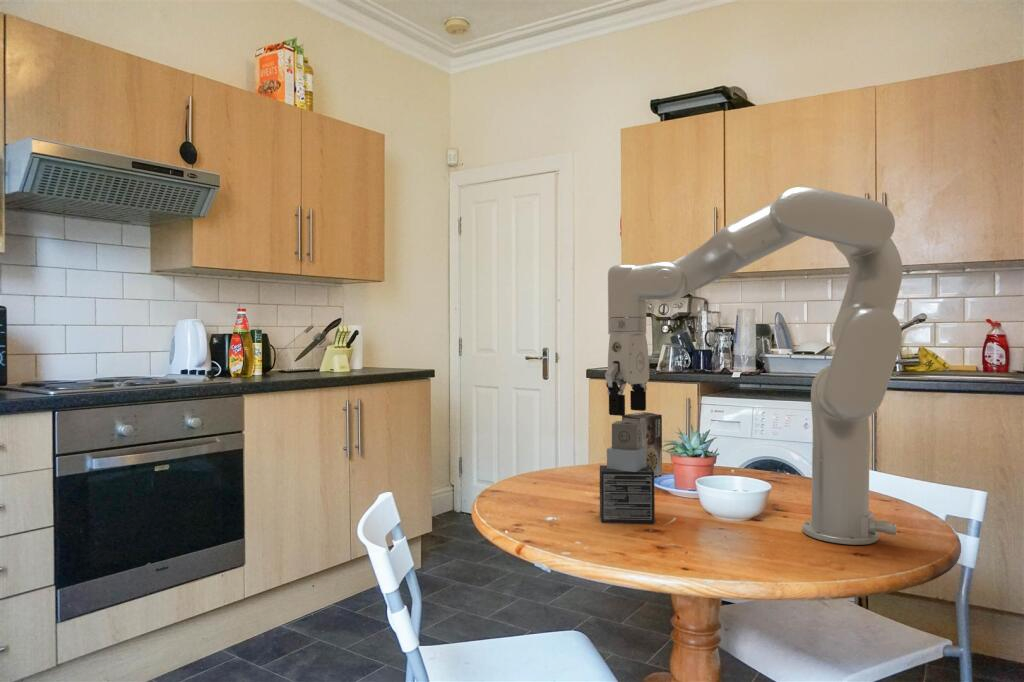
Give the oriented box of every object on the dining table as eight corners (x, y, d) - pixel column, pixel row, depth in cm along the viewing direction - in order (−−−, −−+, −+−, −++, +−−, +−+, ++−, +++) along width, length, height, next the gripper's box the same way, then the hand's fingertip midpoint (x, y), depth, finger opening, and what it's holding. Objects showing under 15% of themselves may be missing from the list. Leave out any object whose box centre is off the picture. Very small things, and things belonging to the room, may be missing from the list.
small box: (651, 515, 138) (651, 464, 138) (655, 525, 132) (655, 471, 131) (599, 514, 139) (599, 463, 139) (600, 523, 132) (601, 470, 132)
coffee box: (643, 472, 181) (643, 411, 181) (662, 476, 176) (663, 414, 176) (620, 476, 175) (620, 414, 175) (639, 480, 170) (640, 416, 170)
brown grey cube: (611, 449, 134) (611, 423, 134) (617, 445, 139) (617, 420, 138) (637, 450, 132) (637, 425, 132) (641, 446, 137) (641, 422, 137)
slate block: (646, 466, 136) (646, 447, 136) (635, 472, 131) (635, 451, 131) (618, 464, 139) (618, 444, 139) (606, 468, 134) (606, 448, 134)
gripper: (625, 326, 126) (626, 418, 126) (661, 326, 140) (662, 409, 140) (589, 327, 130) (590, 416, 130) (628, 327, 144) (629, 407, 144)
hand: (627, 412), depth 135 cm, fingers open, 9 cm apart
